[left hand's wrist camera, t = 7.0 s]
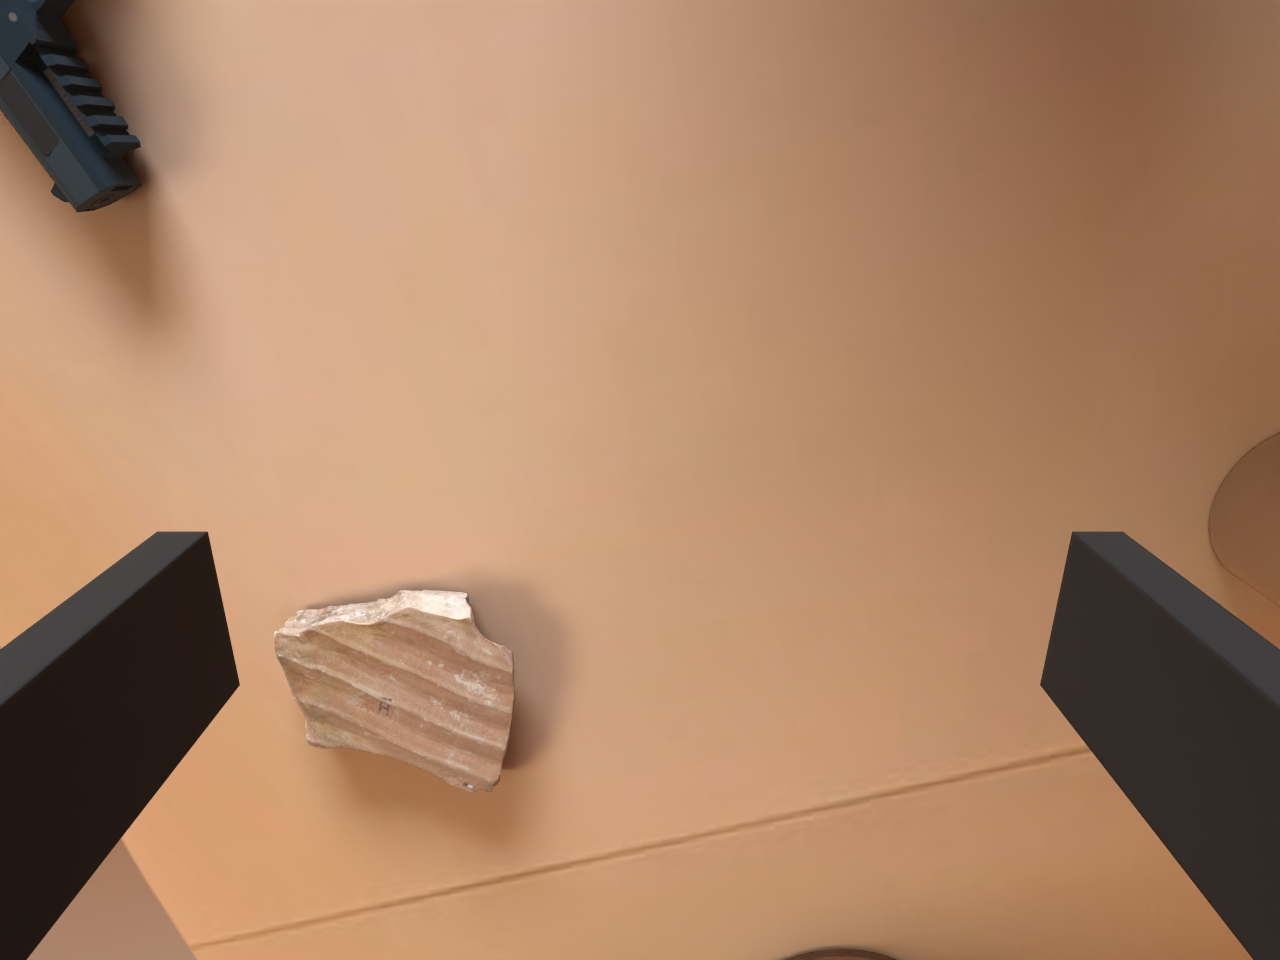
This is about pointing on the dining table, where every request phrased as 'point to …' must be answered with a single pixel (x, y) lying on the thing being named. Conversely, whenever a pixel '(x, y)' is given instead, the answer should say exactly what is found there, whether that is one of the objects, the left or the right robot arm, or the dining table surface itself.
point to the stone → (404, 683)
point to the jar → (1251, 520)
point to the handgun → (61, 107)
